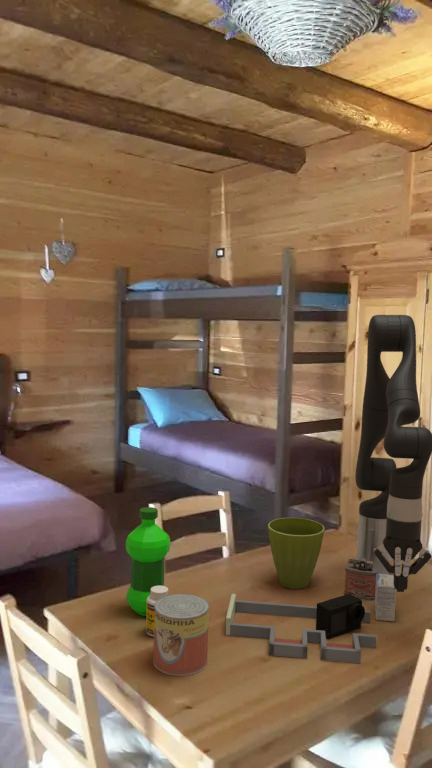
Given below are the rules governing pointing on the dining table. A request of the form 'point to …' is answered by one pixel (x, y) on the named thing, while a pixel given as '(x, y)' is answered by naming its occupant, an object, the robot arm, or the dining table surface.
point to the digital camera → (339, 615)
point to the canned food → (181, 634)
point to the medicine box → (385, 597)
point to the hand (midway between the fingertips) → (399, 590)
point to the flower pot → (295, 549)
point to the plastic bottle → (146, 559)
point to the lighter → (360, 579)
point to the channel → (313, 636)
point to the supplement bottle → (154, 595)
